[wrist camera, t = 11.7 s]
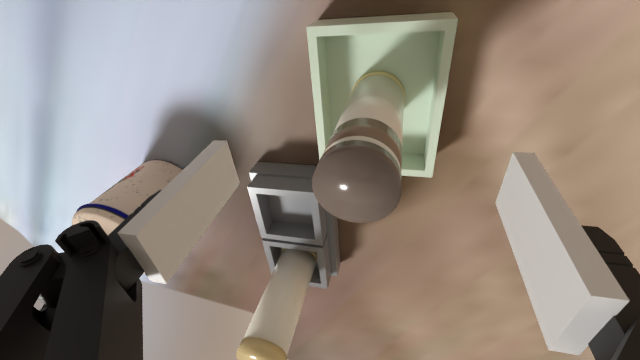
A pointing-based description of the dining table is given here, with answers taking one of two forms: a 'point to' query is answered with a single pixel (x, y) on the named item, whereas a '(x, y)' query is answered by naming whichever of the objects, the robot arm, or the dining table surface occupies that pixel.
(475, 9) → the dining table surface
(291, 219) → the fuse block
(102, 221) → the teacup with lid
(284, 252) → the fuse
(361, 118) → the cylinder
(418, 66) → the parts tray
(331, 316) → the dining table surface
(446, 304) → the dining table surface
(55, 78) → the dining table surface
